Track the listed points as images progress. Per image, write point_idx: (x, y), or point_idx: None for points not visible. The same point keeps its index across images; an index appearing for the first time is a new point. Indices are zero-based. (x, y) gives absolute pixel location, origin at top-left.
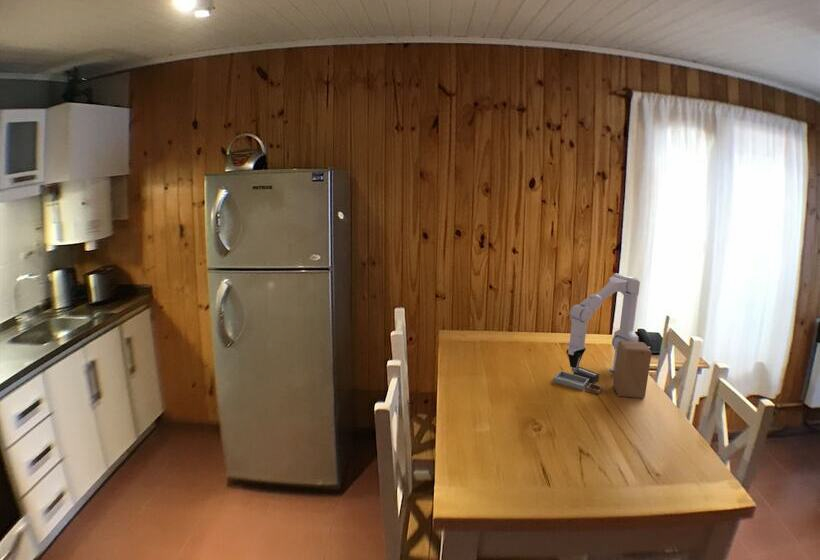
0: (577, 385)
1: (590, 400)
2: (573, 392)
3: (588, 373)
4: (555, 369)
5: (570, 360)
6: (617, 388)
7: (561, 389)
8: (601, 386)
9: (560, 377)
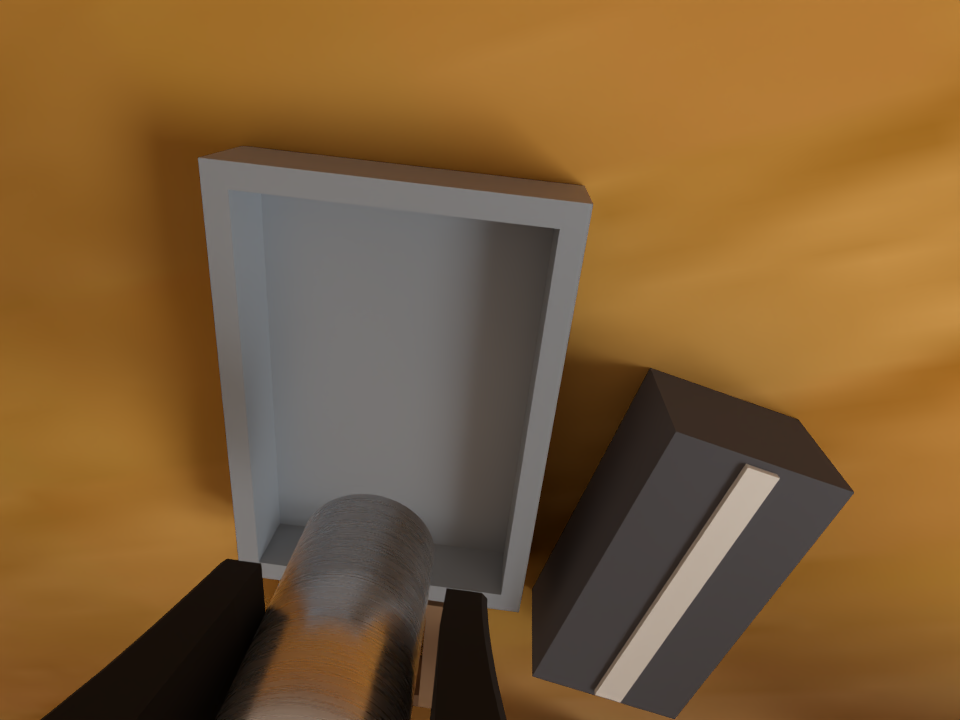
0: (240, 508)
1: (128, 602)
2: (163, 448)
3: (615, 621)
4: (830, 30)
5: (94, 712)
6: None
7: (124, 310)
8: (424, 698)
9: (458, 221)
